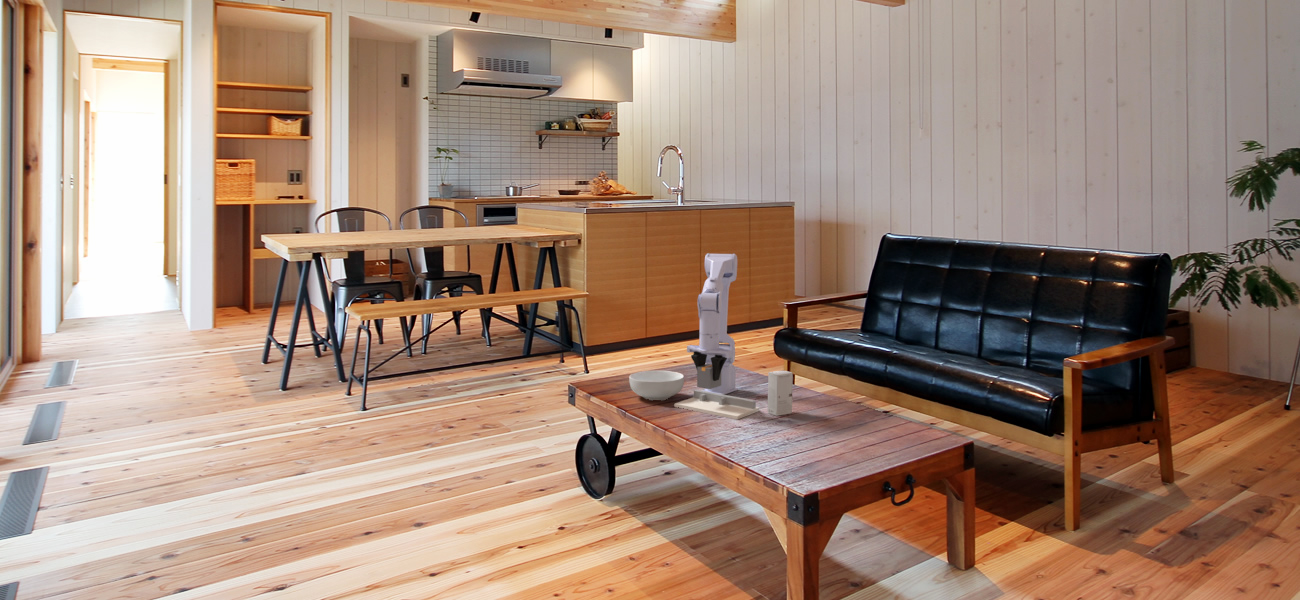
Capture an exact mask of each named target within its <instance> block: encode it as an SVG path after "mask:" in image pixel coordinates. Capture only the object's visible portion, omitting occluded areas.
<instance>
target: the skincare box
mask: <svg viewBox="0 0 1300 600" xmlns="http://www.w3.org/2000/svg"><path fill="white" fill-rule="evenodd" d="M767 375H768V377H767V378H768V379H767V380H768V381H767V413H768V414H769V415H771V416H775V417H778V416H784V415H788V414H789V415H790V414H792V413H793V381H794V377H793V375H794V374H793V372H792V371H788V370H783V369H782V370H774V371H770V372H769V371H768V373H767Z"/></svg>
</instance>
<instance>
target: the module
mask: <svg viewBox="0 0 1300 600" xmlns="http://www.w3.org/2000/svg"><path fill="white" fill-rule="evenodd" d="M696 372H697V373H696V379H697V380H696V387H697V388H701V389H712V388H715V387H718V386H721V373H720V377H719V380H717V381H713V367H712V364H706V363H705V365H702V366H699V367H697V369H696Z"/></svg>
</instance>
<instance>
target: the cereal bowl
mask: <svg viewBox="0 0 1300 600" xmlns="http://www.w3.org/2000/svg"><path fill="white" fill-rule="evenodd" d="M628 379H629V380H628V381H629V385H630V389H631V390H632V391H633V392H634V393H635V394H636V395H637V396H641V397H642V398H643V399H645V400H647V399H649V400H648V401H653V400H661V401H665V400H666V399H667V400H669V399H670V398H671V397H673V396H676V395H677V394H679V393H680V392H681V391H682V389H683V388H684V385H685V384H684V383H685V376H684V374H683V373H680V372H677V371H670V370H642V371H639V372H638V371H637V372H634V373H631V374H630V375H629V377H628ZM668 398H669V399H668Z"/></svg>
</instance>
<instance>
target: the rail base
mask: <svg viewBox="0 0 1300 600" xmlns="http://www.w3.org/2000/svg"><path fill="white" fill-rule="evenodd" d="M756 402H757V400H755V399H749V398H743V397H738V396H732V395H727V394H725V395H723V394H717V393H712V392H706V391H702V389H701V390H700V389H695V390H693V397H690V398H688V399H687V398H686V399H684V400H681V401H679V402H676V403H674V407H675V408H678V407H679V408H678V409H683V408H684V410H687V409H688V410H689V411H692V410H693V412H698V413H702V414H703V413H704V414H709V415H711V416H712V415H713V416H717V417H723V418H727V419H733V420H739V419H742V418H744V417H746V416H749V415H752V414H754V413H757V412H759V411H760V407H759V406H756V405H757V403H756Z"/></svg>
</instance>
